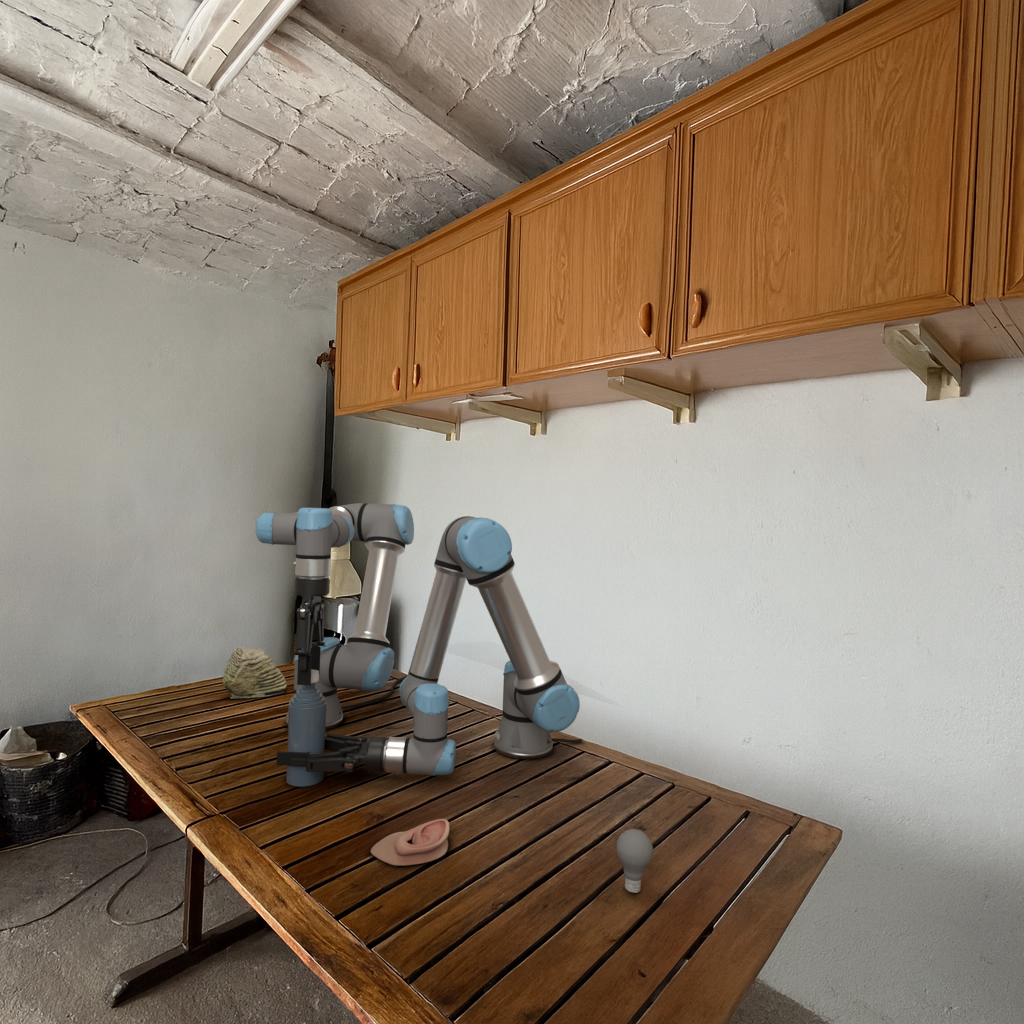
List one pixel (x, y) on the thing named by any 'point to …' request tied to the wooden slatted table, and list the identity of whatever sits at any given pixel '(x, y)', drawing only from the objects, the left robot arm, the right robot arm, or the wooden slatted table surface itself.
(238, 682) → the fossil
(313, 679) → the cap
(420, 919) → the wooden slatted table surface
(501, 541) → the right robot arm
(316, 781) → the bottle
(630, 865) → the light bulb
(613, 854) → the wooden slatted table surface
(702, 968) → the wooden slatted table surface
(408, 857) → the anatomical model
